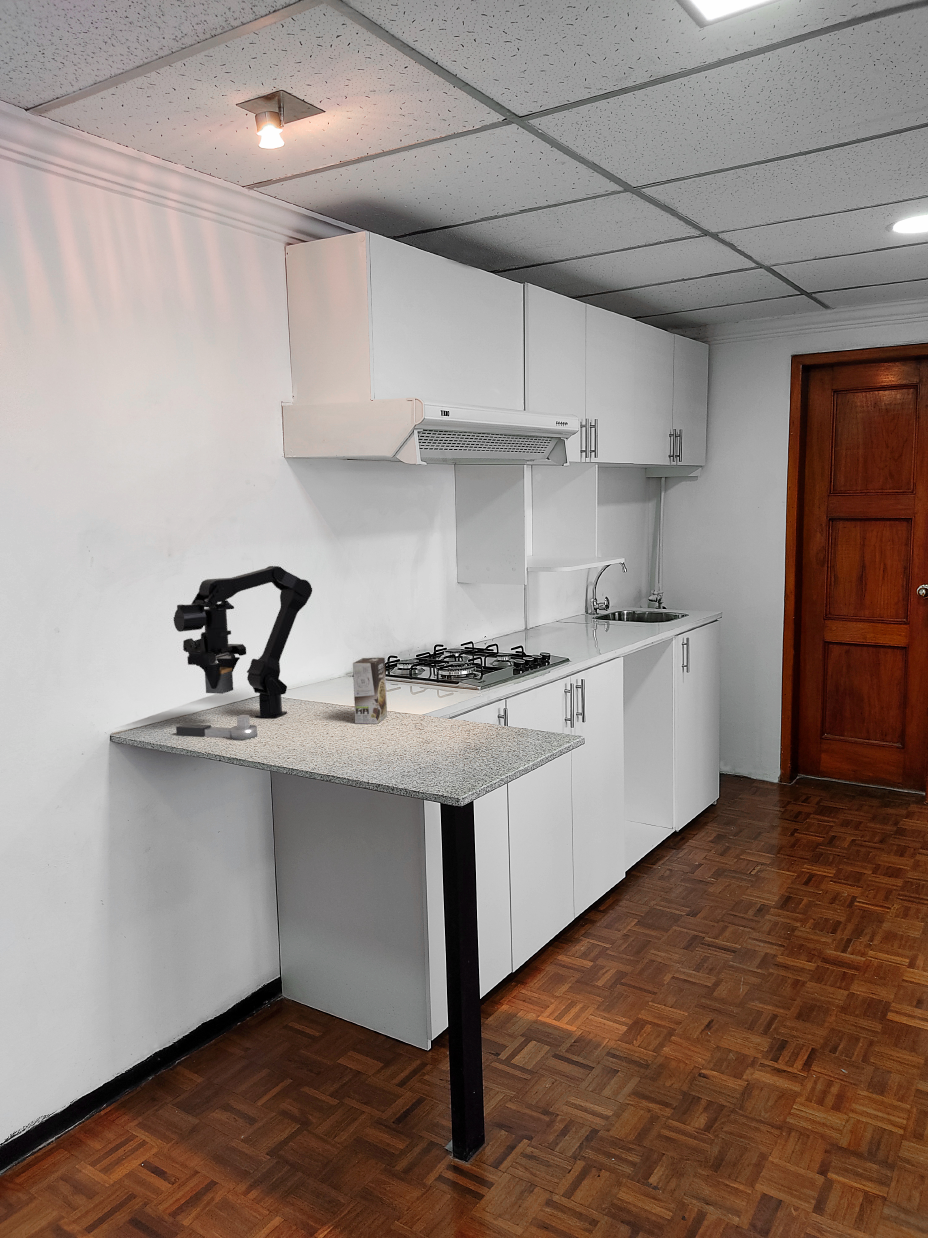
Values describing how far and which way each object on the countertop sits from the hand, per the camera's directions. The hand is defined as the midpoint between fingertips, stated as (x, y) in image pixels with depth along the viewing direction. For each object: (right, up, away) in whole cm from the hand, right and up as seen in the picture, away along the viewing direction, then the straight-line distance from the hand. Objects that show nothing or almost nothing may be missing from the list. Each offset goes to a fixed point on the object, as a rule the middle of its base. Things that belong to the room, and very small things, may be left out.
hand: (219, 686), depth 242 cm
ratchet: (+2, -12, -10) cm, 15 cm away
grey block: (0, -1, 0) cm, 1 cm away
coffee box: (+40, -9, +2) cm, 41 cm away
